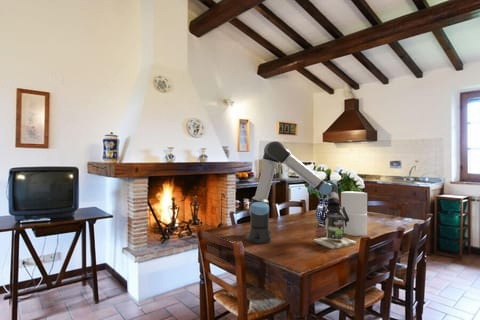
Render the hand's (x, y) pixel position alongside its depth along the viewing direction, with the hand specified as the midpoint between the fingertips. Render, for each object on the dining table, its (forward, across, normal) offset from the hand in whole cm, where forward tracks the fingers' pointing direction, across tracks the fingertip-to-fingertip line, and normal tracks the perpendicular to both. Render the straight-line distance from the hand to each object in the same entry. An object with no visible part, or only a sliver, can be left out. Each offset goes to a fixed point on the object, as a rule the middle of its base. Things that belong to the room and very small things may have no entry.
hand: (335, 230), depth 179 cm
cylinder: (-16, -16, -29) cm, 37 cm away
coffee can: (+2, 0, -6) cm, 6 cm away
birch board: (+4, 0, -8) cm, 9 cm away
